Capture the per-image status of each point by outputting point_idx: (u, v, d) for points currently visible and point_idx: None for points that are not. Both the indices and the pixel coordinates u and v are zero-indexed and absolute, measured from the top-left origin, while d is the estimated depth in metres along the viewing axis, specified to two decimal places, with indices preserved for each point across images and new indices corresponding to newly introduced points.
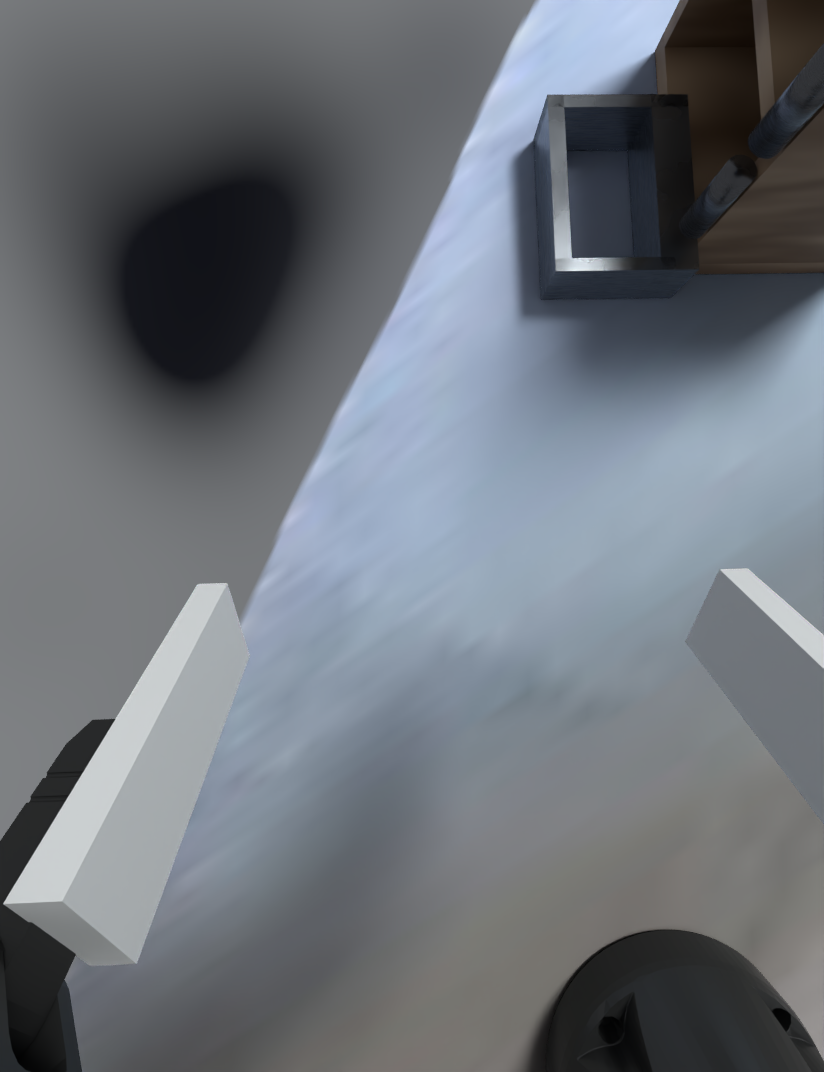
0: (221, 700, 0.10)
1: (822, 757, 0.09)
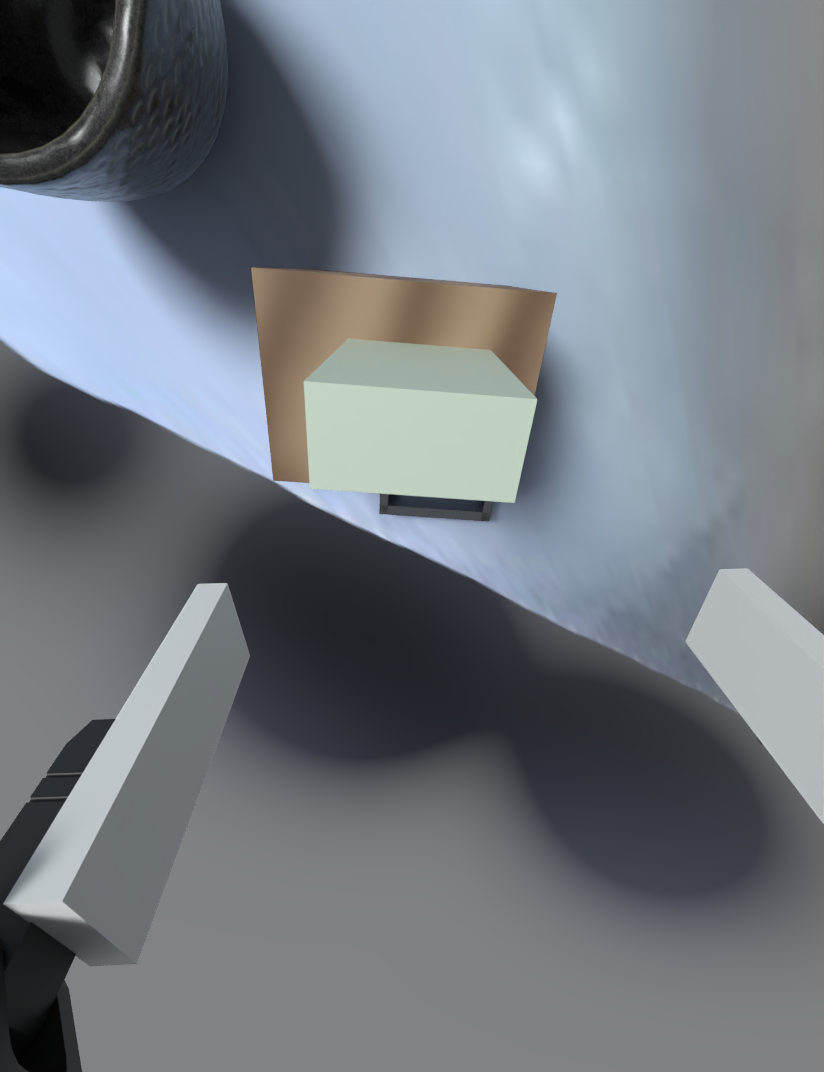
0: (221, 700, 0.10)
1: (822, 757, 0.09)
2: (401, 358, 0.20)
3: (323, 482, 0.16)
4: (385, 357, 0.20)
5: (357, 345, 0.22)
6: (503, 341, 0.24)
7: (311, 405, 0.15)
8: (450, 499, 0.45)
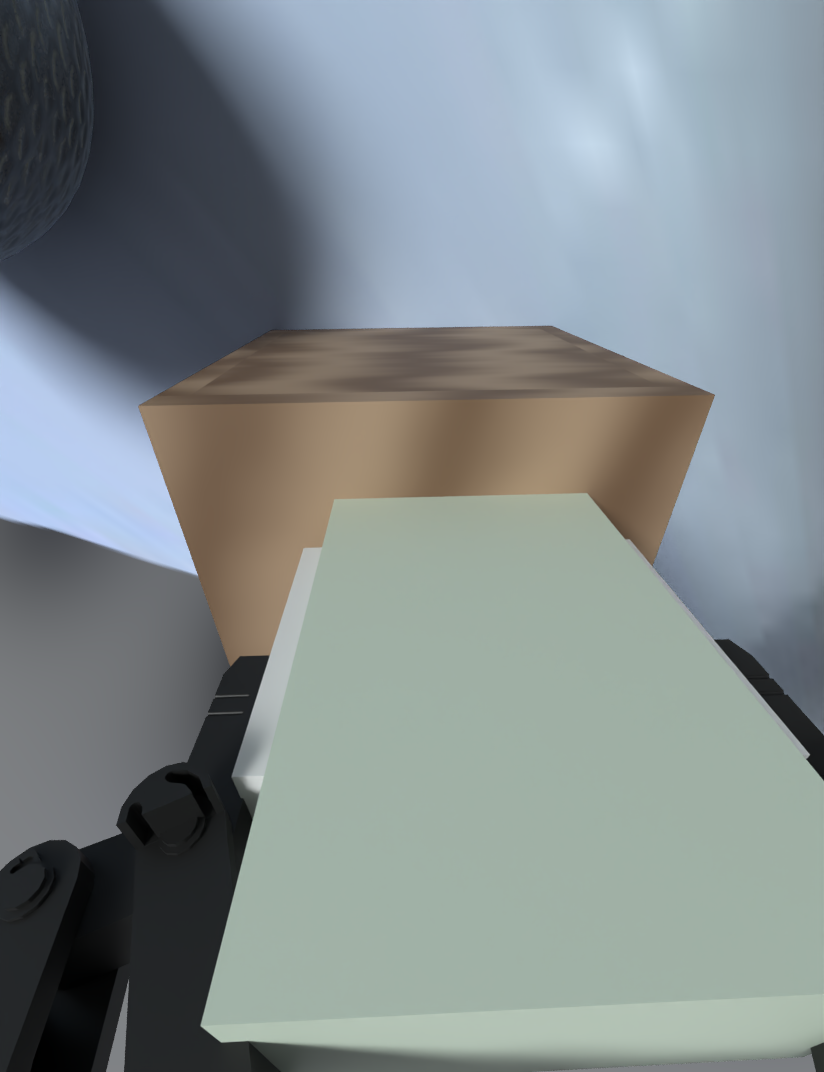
0: None
1: None
2: (451, 604, 0.09)
3: None
4: (418, 608, 0.09)
5: (353, 537, 0.12)
6: (610, 478, 0.13)
7: None
8: None
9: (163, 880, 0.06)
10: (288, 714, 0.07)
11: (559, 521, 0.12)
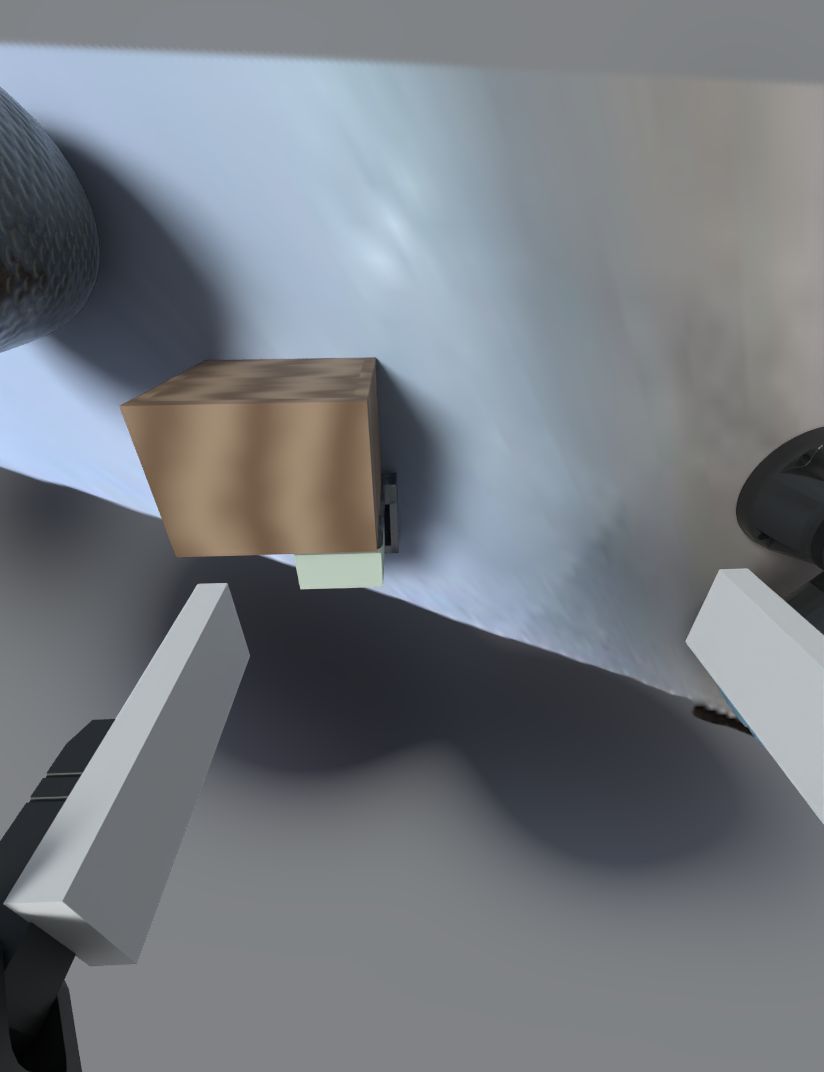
0: (221, 700, 0.10)
1: (822, 757, 0.09)
2: None
3: (305, 586, 0.42)
4: None
5: None
6: (334, 438, 0.29)
7: (297, 562, 0.40)
8: None
9: None
10: None
11: None
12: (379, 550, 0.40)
